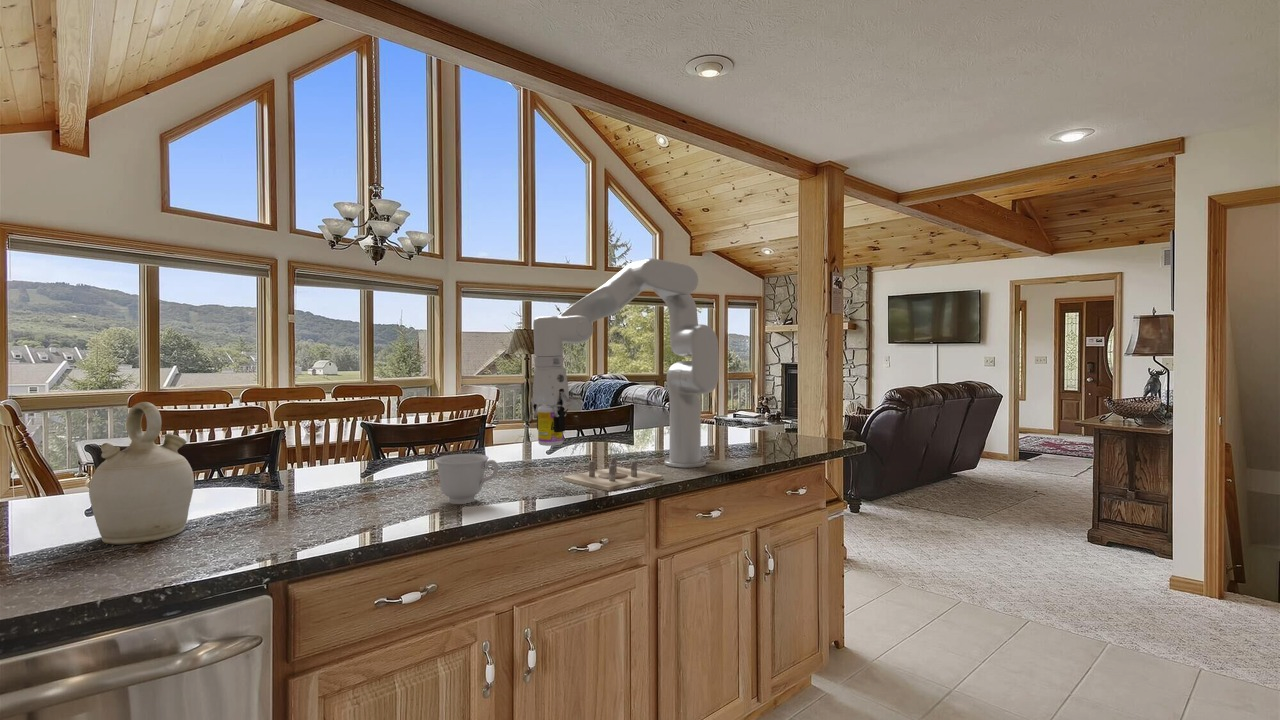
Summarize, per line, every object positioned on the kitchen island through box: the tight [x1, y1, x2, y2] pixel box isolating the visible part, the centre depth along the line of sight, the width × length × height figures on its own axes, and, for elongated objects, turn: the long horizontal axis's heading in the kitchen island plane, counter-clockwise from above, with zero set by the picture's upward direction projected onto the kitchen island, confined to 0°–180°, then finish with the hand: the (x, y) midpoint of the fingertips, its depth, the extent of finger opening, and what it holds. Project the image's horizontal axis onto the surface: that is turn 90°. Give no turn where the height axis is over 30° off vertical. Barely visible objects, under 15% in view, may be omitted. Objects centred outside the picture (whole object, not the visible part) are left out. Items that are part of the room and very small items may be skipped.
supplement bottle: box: [537, 398, 565, 447], centre depth 163 cm, size 7×7×13 cm
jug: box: [88, 401, 195, 545], centre depth 116 cm, size 15×16×25 cm
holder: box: [562, 456, 664, 492], centre depth 166 cm, size 20×18×5 cm
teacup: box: [433, 453, 499, 505], centre depth 142 cm, size 12×15×10 cm
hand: (550, 430), depth 163 cm, fingers closed on supplement bottle, 6 cm apart
